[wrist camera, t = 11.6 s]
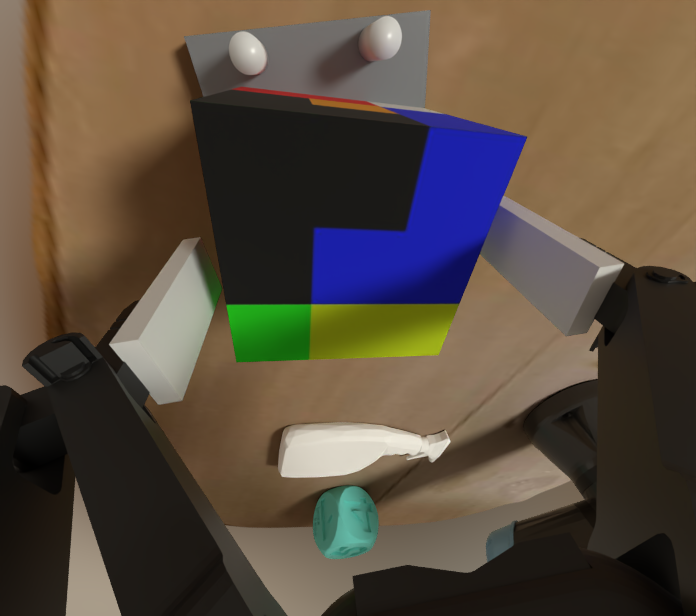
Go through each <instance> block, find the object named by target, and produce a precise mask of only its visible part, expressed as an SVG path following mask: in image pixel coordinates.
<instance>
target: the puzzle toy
mask: <svg viewBox="0 0 696 616" xmlns="http://www.w3.org/2000/svg"><path fill="white" fill-rule="evenodd" d="M190 103H191V109H192V114H193V120H194V125H195V131H196V137H197V142H198V148H199V154H200V159H201V165H202V171H203V176H204V182H205V187H206V193H207V199H208V204H209V210H210V216H211V221H212V227H213V232H214V238H215V244H216V249H217V255H218V261H219V266H220V272H221V277H222V283H223V289H224V294H225V300H226V306H227V311H228V317H229V323H230V328H231V334H232V339H233V345H234V351H235V356H236V362H258V361H286V360H314V359H342V358H370V357H398V356H426V355H439V352H440V350H441V347H442V345H443V343H444V340H445V338H446V335H447V333H448V330H449V328H450V325H451V323H452V320H453V318H454V316H455V313H456V311H457V308H458V306H459V303H460V301H461V298H462V296H463V293H464V291H465V289H466V286H467V284H468V281H469V279H470V276H471V274H472V271H473V269H474V266H475V264H476V262H477V259H478V257H479V254H480V252H481V249H482V247H483V244H484V242H485V239H486V237H487V235H488V232H489V230H490V227H491V225H492V222H493V220H494V217H495V215H496V213H497V210H498V208H499V205H500V203H501V200H502V198H503V195H504V193H505V190H506V188H507V186H508V183H509V181H510V178H511V176H512V173H513V171H514V168H515V166H516V163H517V161H518V159H519V156H520V154H521V151H522V149H523V146H524V144H525V141H526V139H527V136H523V135H519V134H516V133H512V132H508V131H505V130H501V129H497V128H494V127H490V126H487V125H483V124H479V123H476V122H472V121H468V120H465V119H461V118H457V117H454V116H450V115H446V114H443V113H439V112H435V111H432V110H428V109H425V108H419V107H410V106H402V105H394V104H385V103H377V102H368V101H360V100H351V99H343V98H334V97H326V96H317V95H309V94H300V93H292V92H283V91H275V90H266V89H258V88H250V87H238V88H234V89H231V90H227V91H223V92H220V93H216V94H212V95H209V96H205V97H201V98H198V99H194V100H190Z"/></svg>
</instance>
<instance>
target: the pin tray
mask: <svg viewBox="0 0 696 616" xmlns="http://www.w3.org/2000/svg"><path fill="white" fill-rule="evenodd" d="M430 11H431V10H428V11H419V12H409V13H400V14H391V15H381V16H372V17H362V18H353V19H344V20H334V21H325V22H316V23H306V24H297V25H287V26H278V27H269V28H259V29H250V30H241V31H231V32H222V33H212V34H203V35H194V36H184V38H185V41H186V44H187V47H188V50H189V53H190V56H191V60H192V63H193V66H194V69H195V72H196V75H197V78H198V81H199V84H200V88H201V91H202V94H203V97H205V96H209V95H212V94H216V93H220V92H223V91H227V90H231V89H234V88H238V87H250V88H258V89H266V90H275V91H283V92H292V93H300V94H309V95H317V96H326V97H334V98H343V99H351V100H360V101H368V102H377V103H385V104H394V105H402V106H410V107H419V108H425V96H426V79H427V62H428V45H429V28H430Z"/></svg>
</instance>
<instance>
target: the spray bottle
mask: <svg viewBox="0 0 696 616" xmlns="http://www.w3.org/2000/svg"><path fill="white" fill-rule="evenodd" d="M449 443H450V439H449V437H448V435H447V432H446V430H444V431H442V432H440V433H438V434H435V435H426V436H420V435H418V434H415V433H411V432H408V431H404V430H400V429H396V428H391V427H387V426H384V425H378V424H368V423H354V422H330V423H308V424H296V425H291V426H288V427H286V428H285V429H284V431H283V434H282V439H281V444H280V448H279V460H278V469H279V472H280V474H281V476H282V477H292V478H300V477H327V476H338V475H346V474H350V473H353V472H357V471H359V470H361V469H363V468H365V467H366V466H368V465H370V464H372V463H373V462H375V461H376V460H377V459H378V458H380V457H381V456H383V455H394V454H399V455H403V454H407V453H408V454H410V456H407V457H406V458H407V460H410V459H414V458H419V457H425V456H429V458H428V459H429V461H430V462H434V461H435V460H436V459H437V458H438V457H439V456H440V455H441V454H442V452H443V451H444V450H445V449H446V447H447V446H448V445H449Z"/></svg>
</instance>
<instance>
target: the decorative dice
mask: <svg viewBox="0 0 696 616" xmlns="http://www.w3.org/2000/svg"><path fill="white" fill-rule="evenodd" d="M378 525H379V523H378V513H377V510H376V507H375V504H374V502H373V500H372V499H371V497H370V496H369V495H368V493H367V492H366V491H365V490H363V489H362V488H360V487H358V486H340V487H336V488H333V489H330V490H328V491H326V492H325V493H323V494H322V496H321V497H320V498H319V500H318V502H317V505H316V508H315V512H314V518H313V534H314V539H315V542H316V544H317V546H318V548H319V550H320V551H321V552H322V554H323V555H324V556H325V557H327V558H330V559H343V558H350V557H354V556H358V555H361V554H364V553H366V552H368V551H369V550H370V549H372V547H373V545H374V543H375V541H376V538H377V534H378Z"/></svg>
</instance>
